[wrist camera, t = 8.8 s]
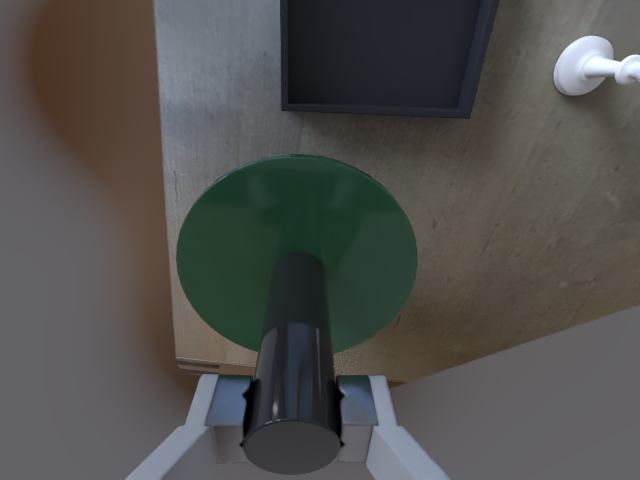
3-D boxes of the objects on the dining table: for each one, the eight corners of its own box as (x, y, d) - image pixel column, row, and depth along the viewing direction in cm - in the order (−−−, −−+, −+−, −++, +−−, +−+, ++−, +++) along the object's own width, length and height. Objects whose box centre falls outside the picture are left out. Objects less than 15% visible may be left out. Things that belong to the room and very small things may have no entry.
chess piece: (611, 27, 30) (733, 19, 22) (606, 85, 33) (714, 99, 24) (553, 47, 31) (649, 46, 22) (552, 102, 33) (639, 121, 24)
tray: (283, 106, 33) (281, 110, 30) (281, -111, 25) (278, -127, 23) (458, 114, 34) (469, 118, 31) (507, -95, 26) (525, -109, 24)
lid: (198, 342, 19) (124, 545, 12) (164, 143, 14) (-22, 271, 6) (392, 344, 20) (448, 538, 12) (433, 155, 15) (583, 284, 7)
